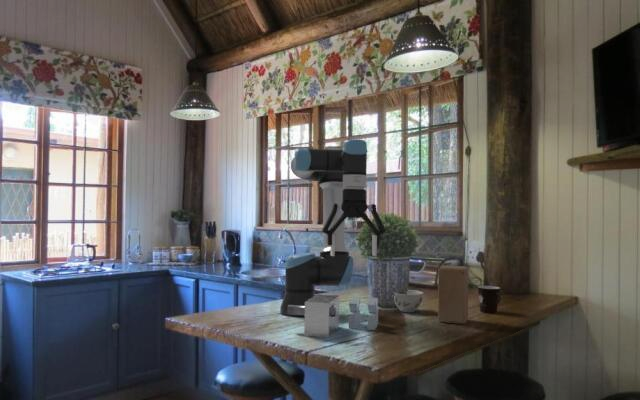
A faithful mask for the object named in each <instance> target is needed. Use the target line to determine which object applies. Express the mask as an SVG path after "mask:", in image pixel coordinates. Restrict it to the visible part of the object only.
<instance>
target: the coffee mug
mask: <svg viewBox="0 0 640 400" xmlns="http://www.w3.org/2000/svg"><path fill="white" fill-rule="evenodd" d="M500 289H501V288H500V287H499V286H493V285H478V286H477V293H478V302H479V312H481V313H483V314H497V312H498V306H499V304H500V302H501V294H500Z"/></svg>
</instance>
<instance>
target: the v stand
mask: <svg viewBox="0 0 640 400" xmlns="http://www.w3.org/2000/svg"><path fill="white" fill-rule="evenodd" d="M360 304H361V297H360V296H352V299H349V301H348V306H349V307H348V308H349V313H348V329H350V330H351V329H353V330H356V329H357V328H358V326H359V325H360V324H361V309H360ZM378 307H379V298H378V297H370V300H368V301H367V308H368V313H367V327H366V328H367V330H368V331H370V330H371V331H375V330H377V327H378V325H379V310H378V309H379V308H378Z"/></svg>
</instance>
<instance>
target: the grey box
mask: <svg viewBox="0 0 640 400" xmlns="http://www.w3.org/2000/svg"><path fill="white" fill-rule="evenodd" d="M331 307H335V308H336V317H331ZM339 326H340V295H336V294H320V293H317V294H315V296H313V297H312V298H310V299H309V300H307V301H305V316H304V330H303V331H304V337H318V338H319V337H320V338H330V337H331V336H332V335H333V334H334V332H336V330H337V329H338V328H339Z"/></svg>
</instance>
